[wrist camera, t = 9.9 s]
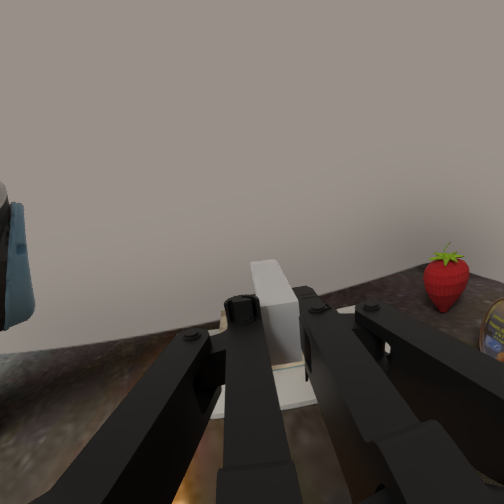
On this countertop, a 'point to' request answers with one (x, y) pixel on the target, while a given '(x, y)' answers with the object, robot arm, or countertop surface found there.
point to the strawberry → (445, 279)
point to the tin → (493, 331)
